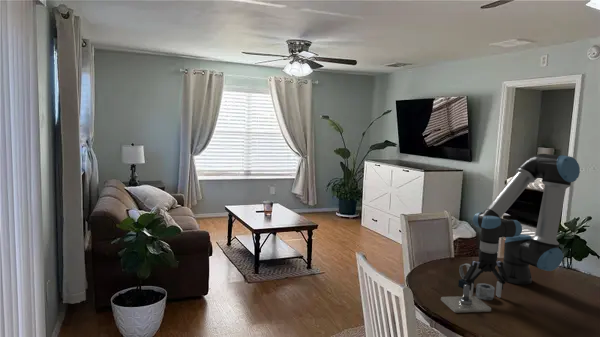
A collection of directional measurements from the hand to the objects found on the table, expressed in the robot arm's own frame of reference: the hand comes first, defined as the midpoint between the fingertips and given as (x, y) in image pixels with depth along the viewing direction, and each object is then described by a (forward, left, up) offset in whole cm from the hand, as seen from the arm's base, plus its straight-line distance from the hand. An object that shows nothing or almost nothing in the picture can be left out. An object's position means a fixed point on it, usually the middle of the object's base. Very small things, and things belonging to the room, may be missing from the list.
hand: (484, 296), depth 186 cm
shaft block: (+14, +8, 0) cm, 16 cm away
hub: (0, 0, 0) cm, 0 cm away
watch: (+2, -12, 0) cm, 12 cm away
